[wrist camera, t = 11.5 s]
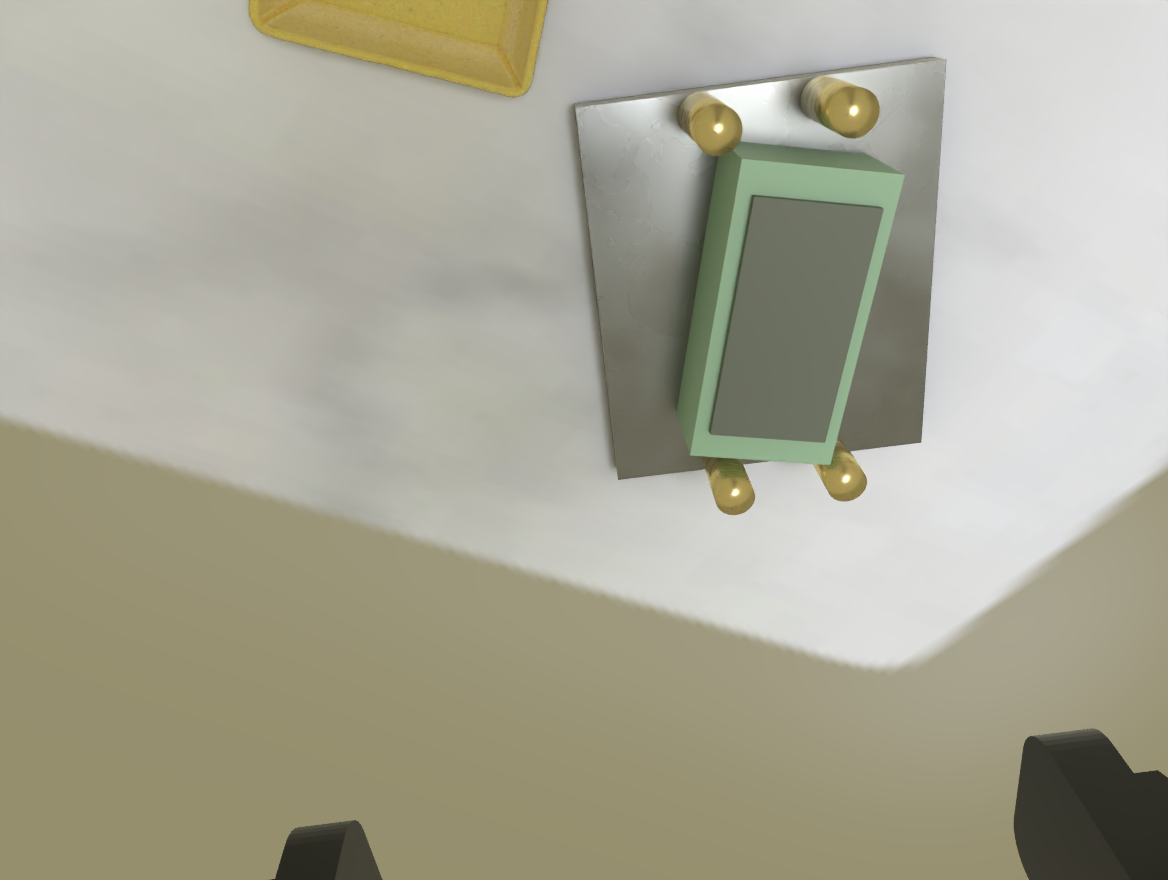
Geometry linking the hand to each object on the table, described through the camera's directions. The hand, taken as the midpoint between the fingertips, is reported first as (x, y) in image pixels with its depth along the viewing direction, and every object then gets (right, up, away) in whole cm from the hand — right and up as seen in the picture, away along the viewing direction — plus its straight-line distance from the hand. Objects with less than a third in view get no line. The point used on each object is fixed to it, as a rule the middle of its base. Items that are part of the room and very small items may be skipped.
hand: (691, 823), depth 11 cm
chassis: (+5, +10, +22) cm, 25 cm away
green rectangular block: (+5, +10, +21) cm, 24 cm away
